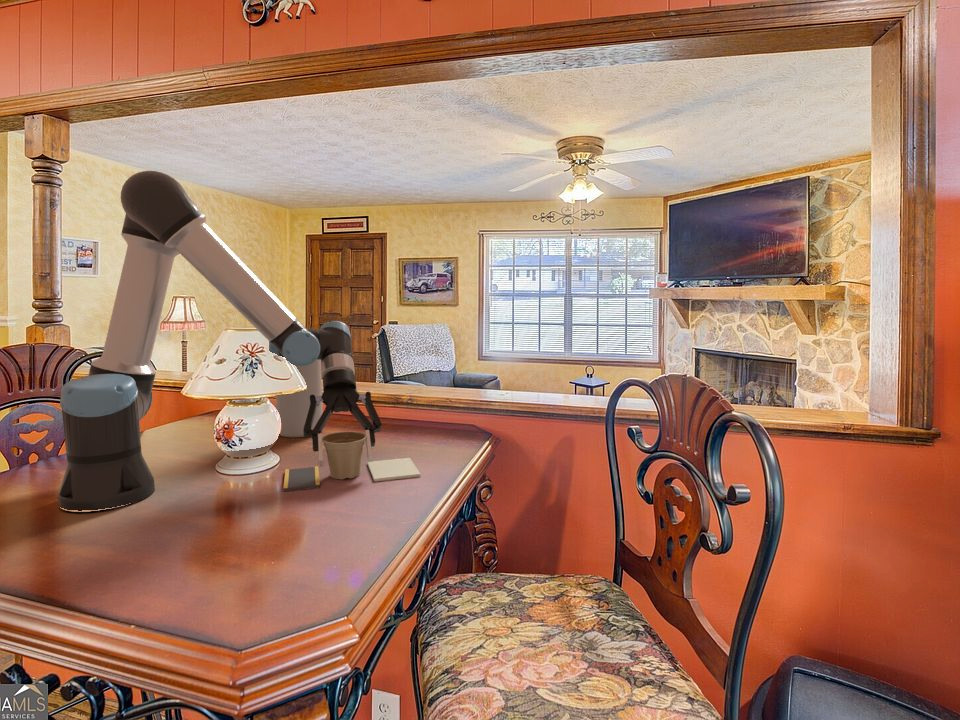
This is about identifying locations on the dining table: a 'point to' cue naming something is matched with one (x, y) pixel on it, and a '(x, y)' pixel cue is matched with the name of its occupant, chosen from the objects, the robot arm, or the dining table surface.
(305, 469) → the trap mat
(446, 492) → the dining table surface
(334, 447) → the flower pot
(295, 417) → the cylinder vase
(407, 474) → the pad
